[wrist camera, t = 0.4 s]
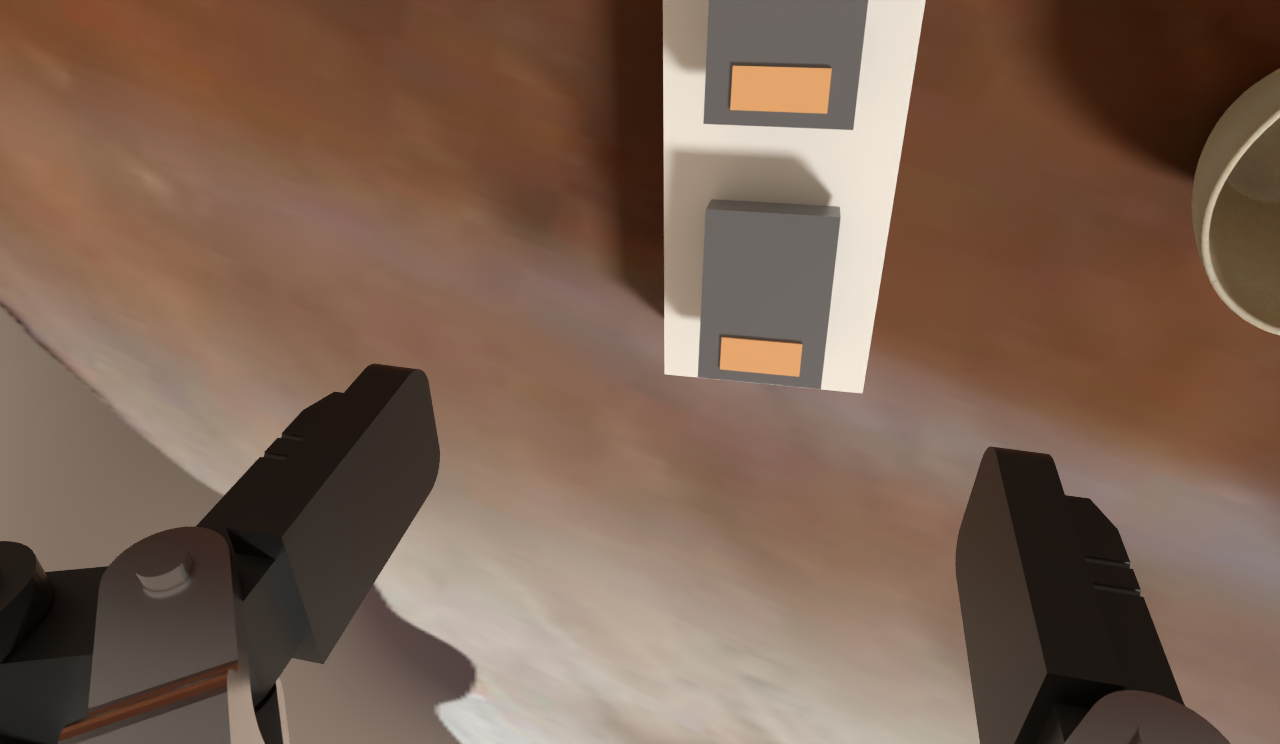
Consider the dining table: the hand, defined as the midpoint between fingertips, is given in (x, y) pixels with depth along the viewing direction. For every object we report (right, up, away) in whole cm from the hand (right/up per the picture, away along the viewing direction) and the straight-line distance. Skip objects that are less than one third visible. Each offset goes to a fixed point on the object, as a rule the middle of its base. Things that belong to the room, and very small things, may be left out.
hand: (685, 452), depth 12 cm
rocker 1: (+4, +13, +16) cm, 21 cm away
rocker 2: (+5, +5, +22) cm, 22 cm away
